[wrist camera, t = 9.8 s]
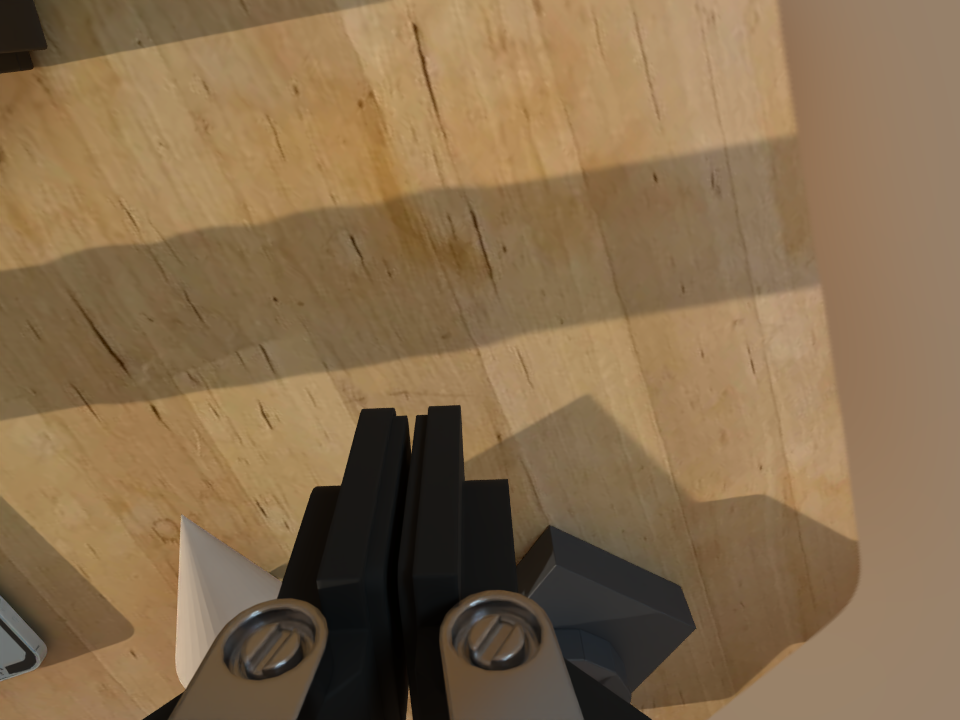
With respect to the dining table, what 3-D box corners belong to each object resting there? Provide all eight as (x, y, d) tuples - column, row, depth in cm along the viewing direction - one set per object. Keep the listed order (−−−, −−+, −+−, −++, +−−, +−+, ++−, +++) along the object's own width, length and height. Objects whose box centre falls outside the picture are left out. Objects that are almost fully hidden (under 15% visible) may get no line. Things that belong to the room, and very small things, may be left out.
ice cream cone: (221, 438, 31) (302, 632, 39) (78, 514, 28) (200, 706, 36) (287, 513, 27) (361, 710, 35) (128, 611, 24) (251, 800, 32)
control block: (549, 524, 33) (560, 595, 29) (681, 586, 35) (708, 660, 31) (429, 674, 38) (424, 753, 34) (551, 722, 40) (561, 802, 36)
